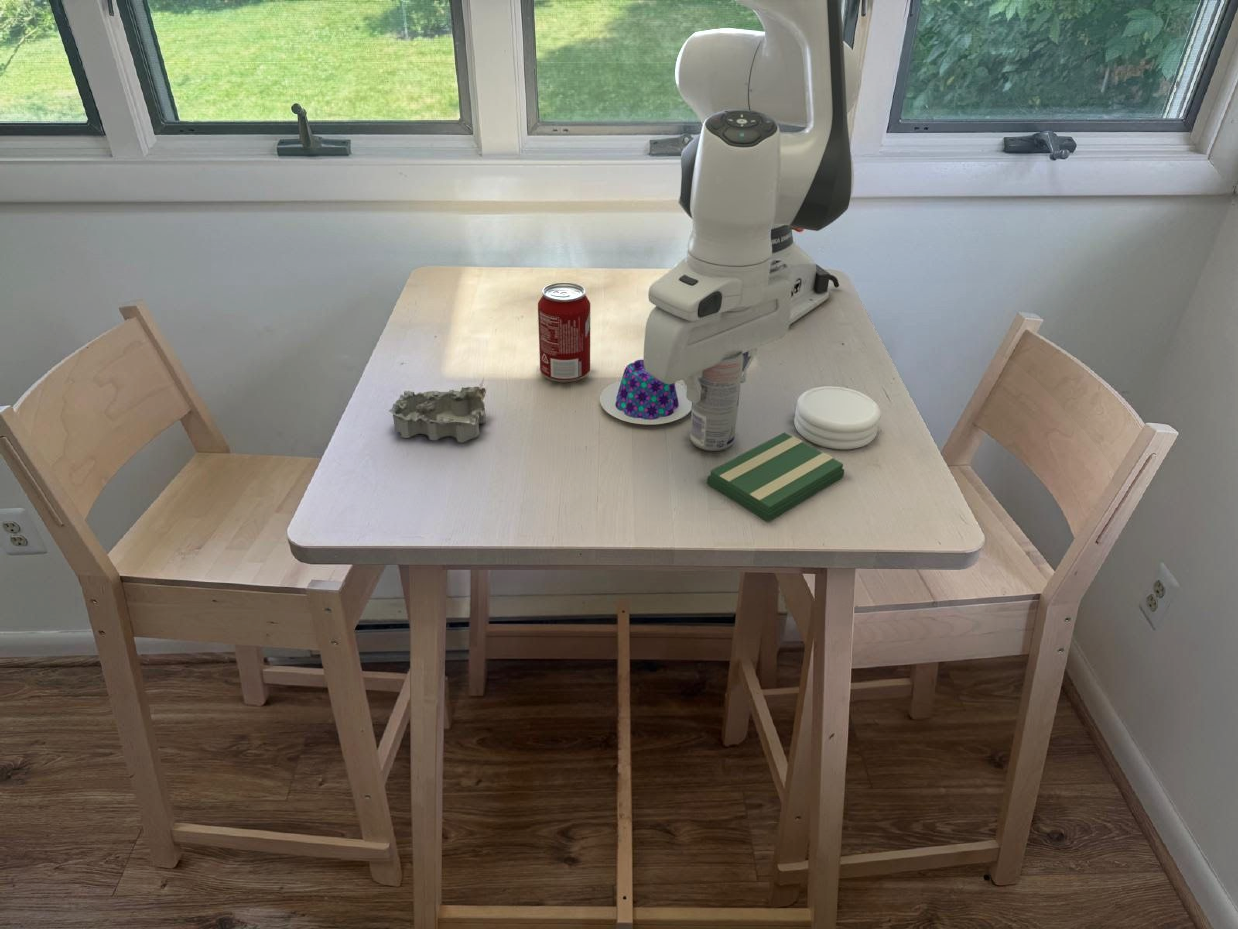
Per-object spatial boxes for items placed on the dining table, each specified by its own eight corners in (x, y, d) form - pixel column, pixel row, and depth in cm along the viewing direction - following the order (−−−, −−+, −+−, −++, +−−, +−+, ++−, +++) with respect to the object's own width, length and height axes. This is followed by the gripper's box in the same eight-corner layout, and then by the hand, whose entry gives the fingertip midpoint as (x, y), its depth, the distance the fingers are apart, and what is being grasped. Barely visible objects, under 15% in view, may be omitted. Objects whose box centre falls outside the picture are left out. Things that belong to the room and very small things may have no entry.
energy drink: (727, 426, 106) (736, 337, 100) (739, 450, 102) (750, 359, 95) (684, 429, 106) (691, 340, 99) (695, 454, 101) (702, 362, 94)
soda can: (583, 388, 114) (583, 304, 107) (534, 382, 115) (530, 298, 108) (595, 365, 120) (595, 283, 113) (547, 359, 121) (545, 278, 114)
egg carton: (491, 415, 108) (490, 386, 106) (473, 447, 102) (471, 418, 100) (410, 406, 110) (406, 377, 107) (387, 437, 103) (383, 407, 101)
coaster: (804, 452, 103) (809, 427, 101) (785, 409, 111) (788, 385, 109) (887, 450, 103) (893, 425, 101) (861, 407, 112) (866, 383, 110)
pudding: (589, 387, 114) (589, 352, 111) (675, 377, 117) (677, 342, 114) (614, 435, 105) (614, 397, 102) (707, 422, 108) (710, 385, 105)
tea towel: (782, 443, 104) (784, 430, 103) (843, 477, 99) (846, 463, 98) (706, 483, 97) (707, 469, 96) (767, 522, 92) (770, 507, 90)
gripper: (768, 247, 100) (755, 355, 108) (636, 291, 89) (632, 408, 96) (812, 263, 96) (795, 374, 104) (679, 311, 85) (671, 431, 93)
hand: (715, 390), depth 100 cm, fingers closed on energy drink, 5 cm apart
